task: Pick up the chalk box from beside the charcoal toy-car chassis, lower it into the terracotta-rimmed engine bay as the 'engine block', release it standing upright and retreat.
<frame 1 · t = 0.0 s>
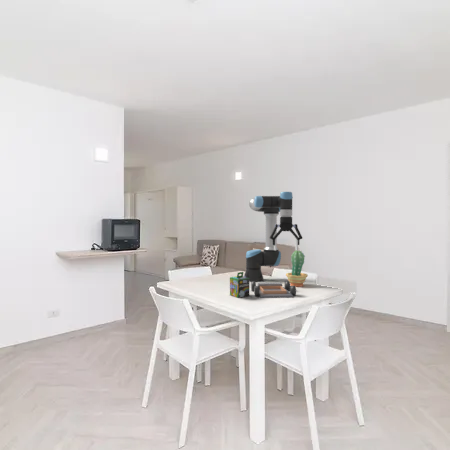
hand: (285, 250, 200), 28 cm above the table, tool pointing down, fingers open, 13 cm apart
chalk box: (239, 296, 198), on the table
potted cactus: (296, 285, 229), on the table
chassis: (272, 292, 206), on the table
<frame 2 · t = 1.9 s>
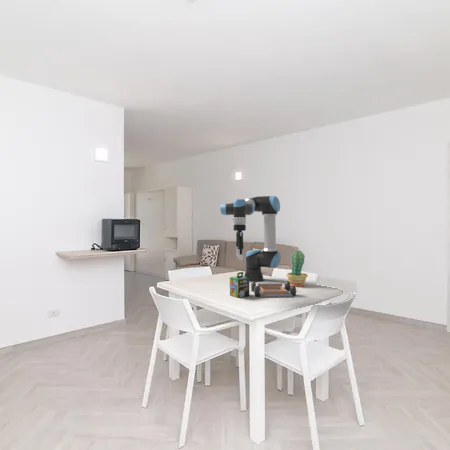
hand: (239, 258, 198), 23 cm above the table, tool pointing down, fingers open, 13 cm apart
nothing on the table moved.
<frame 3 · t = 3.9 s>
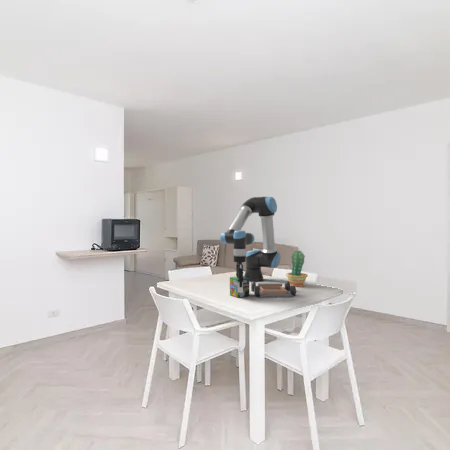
hand: (239, 290, 198), 4 cm above the table, tool pointing down, fingers closed on chalk box, 12 cm apart
chalk box: (239, 295, 198), on the table, touching gripper
everything else where it was.
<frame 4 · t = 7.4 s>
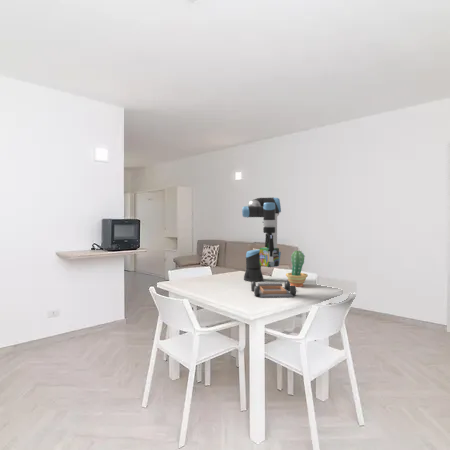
hand: (269, 260, 205), 21 cm above the table, tool pointing down, fingers closed on chalk box, 12 cm apart
chalk box: (269, 266, 205), point 17 cm above the table, touching gripper
everything else where it was.
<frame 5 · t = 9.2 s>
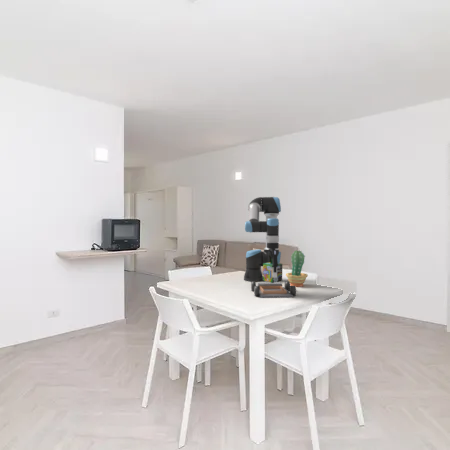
hand: (272, 275, 205), 11 cm above the table, tool pointing down, fingers closed on chalk box, 12 cm apart
chalk box: (272, 281, 205), point 7 cm above the table, touching gripper
everything else where it was.
when the fingers open (6 cm above the table, at t = 11.0 s): chalk box drops 1 cm, resting on chassis.
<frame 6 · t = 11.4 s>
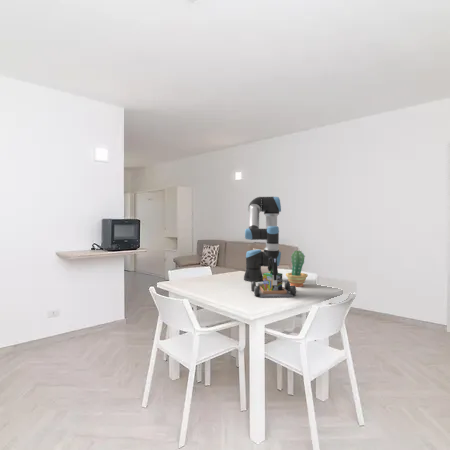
hand: (272, 283, 206), 6 cm above the table, tool pointing down, fingers open, 13 cm apart
chalk box: (272, 291, 205), point 1 cm above the table, touching chassis, gripper
everything else where it was.
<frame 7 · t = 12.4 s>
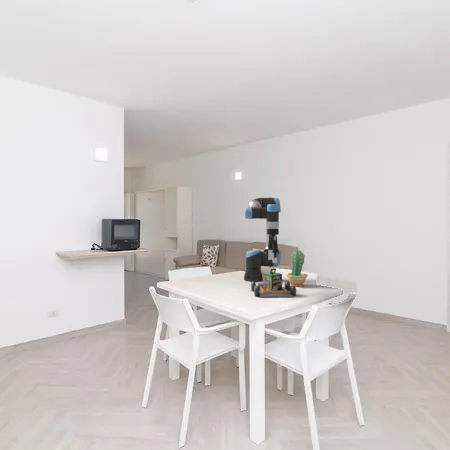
hand: (272, 261, 206), 20 cm above the table, tool pointing down, fingers open, 13 cm apart
chalk box: (272, 291, 205), point 1 cm above the table, touching chassis
everything else where it was.
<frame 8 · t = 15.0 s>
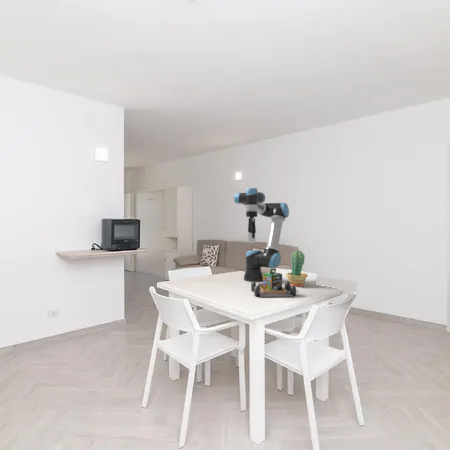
hand: (251, 242, 216), 32 cm above the table, tool pointing down, fingers open, 13 cm apart
nothing on the table moved.
at the end: chalk box 0.5 cm off-centre on the chassis, point 1.0 cm above the chassis's base; chalk box tilted 0°; the gripper is holding nothing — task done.
